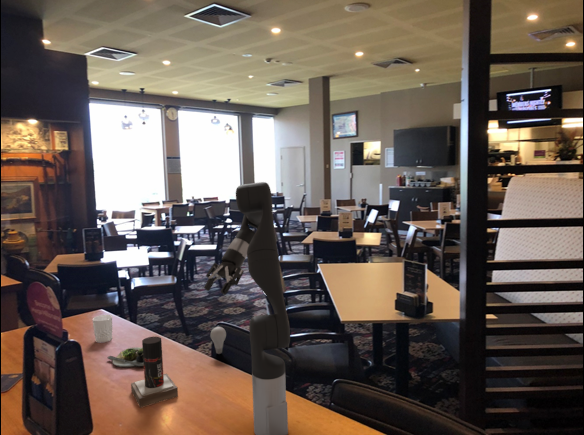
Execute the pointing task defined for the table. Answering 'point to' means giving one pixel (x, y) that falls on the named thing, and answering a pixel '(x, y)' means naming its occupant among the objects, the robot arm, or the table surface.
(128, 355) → the salad plate
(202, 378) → the table surface
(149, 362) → the deodorant
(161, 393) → the pedestal
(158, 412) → the table surface
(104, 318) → the white cup
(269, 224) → the robot arm
